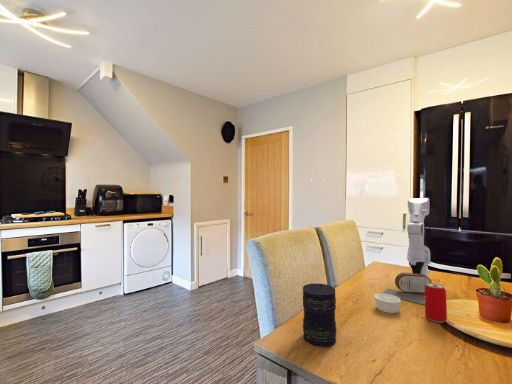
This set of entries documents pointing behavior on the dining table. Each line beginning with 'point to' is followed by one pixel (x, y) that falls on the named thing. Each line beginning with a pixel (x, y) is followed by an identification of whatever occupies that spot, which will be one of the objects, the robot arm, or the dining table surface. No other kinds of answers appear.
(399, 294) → the mat
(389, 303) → the ramekin
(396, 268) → the dining table surface
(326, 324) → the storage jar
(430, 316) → the beverage can
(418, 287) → the tin
